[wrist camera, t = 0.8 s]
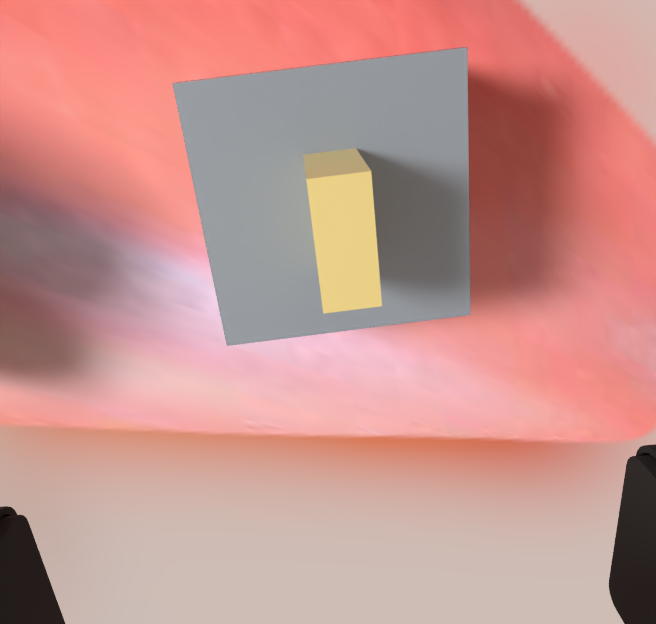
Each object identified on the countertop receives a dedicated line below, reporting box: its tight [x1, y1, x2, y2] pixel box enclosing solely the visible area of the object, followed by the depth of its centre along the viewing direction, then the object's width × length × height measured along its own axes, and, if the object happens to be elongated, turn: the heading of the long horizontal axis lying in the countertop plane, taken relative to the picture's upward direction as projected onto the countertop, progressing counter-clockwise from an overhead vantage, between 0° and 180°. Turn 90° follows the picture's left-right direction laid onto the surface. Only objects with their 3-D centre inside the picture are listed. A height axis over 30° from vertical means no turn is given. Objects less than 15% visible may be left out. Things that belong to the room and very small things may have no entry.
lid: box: [173, 47, 470, 346], centre depth 24 cm, size 12×12×7 cm
